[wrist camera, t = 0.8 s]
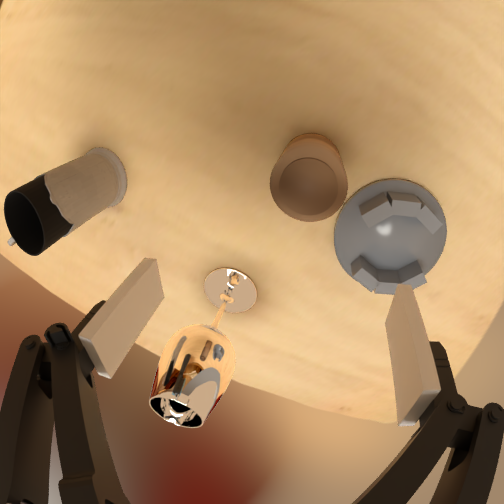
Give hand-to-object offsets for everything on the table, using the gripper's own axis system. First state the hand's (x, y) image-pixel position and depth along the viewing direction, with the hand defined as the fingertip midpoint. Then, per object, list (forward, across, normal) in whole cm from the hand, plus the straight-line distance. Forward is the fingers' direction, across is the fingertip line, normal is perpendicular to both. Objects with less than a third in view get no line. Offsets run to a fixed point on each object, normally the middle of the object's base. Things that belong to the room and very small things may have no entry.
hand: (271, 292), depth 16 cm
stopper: (+20, +1, +2) cm, 20 cm away
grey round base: (+20, +11, -5) cm, 23 cm away
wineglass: (+20, -8, -16) cm, 27 cm away
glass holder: (+20, -29, -1) cm, 35 cm away
